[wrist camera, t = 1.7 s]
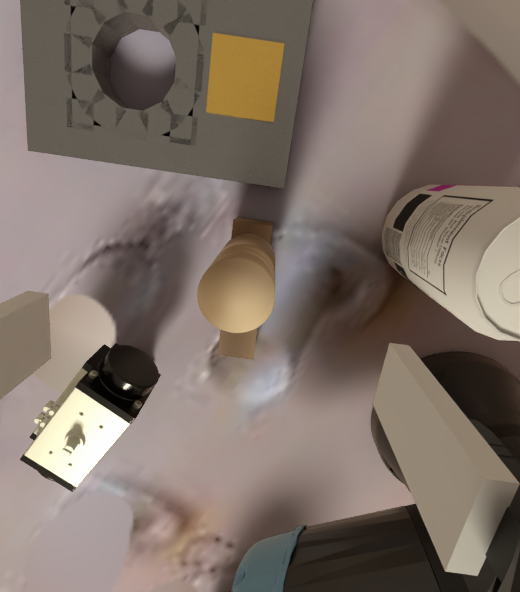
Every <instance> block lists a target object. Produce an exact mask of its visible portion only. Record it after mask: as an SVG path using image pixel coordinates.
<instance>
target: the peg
mask: <svg viewBox="0 0 520 592" xmlns="http://www.w3.org/2000/svg"><path fill="white" fill-rule="evenodd" d="M197 297H198V303H199V307H200V309H201V311H202V313H203V315H204V316H205V318H206V319H207V320H208V321H209V322H210V323H211V324H213V325H214V326H215V327H217V328H219V329H221V330H224V331H227V332H231V333H243V332H248V331H251V330H254V329H256V328H257V327H259V326H261V325H262V324H263V323H264V322H265V321H266V320H267V319H268V317H269V316H270V314H271V312H272V310H273V307H274V303H275V255H274V251H273V249H272V247H271V245H270V244H269V243H268V241H267V240H265V239H264V238H263V237H261V236H259V235H256V234H252V233H244V234H240V235H237V236H235V237H234V238H232V239H231V240H230V241H229V242H228V243H227V244H226V246H225V247H224V248H223V250H222V251H221V252H220V254H219V255H218V256H217V258H216V259H215V260H214V262H213V263H212V264H211V266H210V267H209V268H208V270H207V271H206V272H205V274H204V275H203V277H202V278H201V281H200V283H199V286H198V294H197Z"/></svg>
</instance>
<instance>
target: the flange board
mask: <svg viewBox="0 0 520 592" xmlns="http://www.w3.org/2000/svg"><path fill="white" fill-rule="evenodd" d="M20 5H21V25H22V44H23V64H24V83H25V103H26V122H27V142H28V151H34V152H41V153H48V154H55V155H61V156H68V157H75V158H82V159H88V160H95V161H102V162H108V163H115V164H122V165H129V166H135V167H142V168H149V169H156V170H162V171H169V172H176V173H183V174H189V175H196V176H203V177H210V178H216V179H223V180H230V181H237V182H243V183H250V184H257V185H264V186H270V187H277V188H284V185H285V179H286V172H287V166H288V160H289V153H290V147H291V140H292V134H293V127H294V121H295V114H296V108H297V101H298V95H299V89H300V82H301V76H302V69H303V63H304V56H305V50H306V43H307V37H308V30H309V24H310V18H311V11H312V5H313V0H20ZM138 29H144V30H151V31H157V32H160V33H162V34H163V35H164V36H165V37H166V38H167V39H169V40H170V43H171V45H172V48H173V50H174V53H175V55H176V65H175V81H174V83H173V85H172V87H171V88H170V90H169V91H168V93H167V95H166V96H165V98H164V100H163V101H162V102H160V103H158V104H156V105H154V106H152V107H150V108H147V109H145V110H143V111H142V110H136V109H129V108H128V107H127V106H125V105H124V104H123V103H122V102H120V101H119V99H118V96H117V94H116V92H115V90H114V88H113V86H112V83H111V81H110V57H111V55H112V53H113V51H114V49H115V48H116V46H117V44H118V42H119V40H120V39H121V38H122V37H124V36H126V35H128V34H130V33H132V32H134V31H136V30H138Z"/></svg>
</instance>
